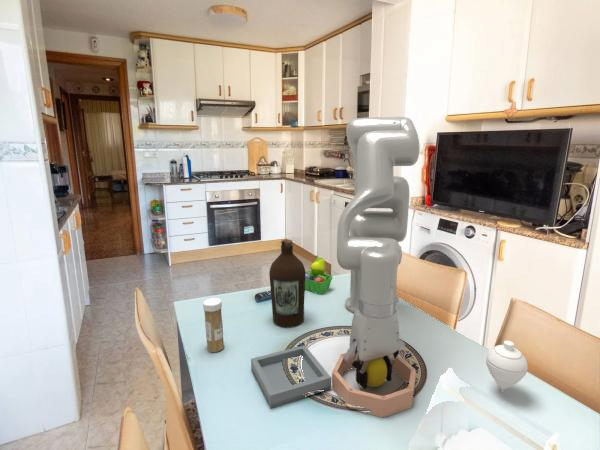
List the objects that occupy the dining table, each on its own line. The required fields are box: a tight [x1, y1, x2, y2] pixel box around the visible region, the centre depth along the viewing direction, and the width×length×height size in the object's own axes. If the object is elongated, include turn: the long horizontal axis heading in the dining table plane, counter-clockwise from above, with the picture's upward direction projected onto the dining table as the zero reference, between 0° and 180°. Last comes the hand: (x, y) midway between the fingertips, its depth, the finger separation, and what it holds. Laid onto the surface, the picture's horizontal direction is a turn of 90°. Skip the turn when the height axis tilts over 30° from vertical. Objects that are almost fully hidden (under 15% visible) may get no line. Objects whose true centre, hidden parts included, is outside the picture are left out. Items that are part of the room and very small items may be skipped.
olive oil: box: [268, 239, 306, 329], centre depth 108 cm, size 11×11×25 cm
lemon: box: [365, 357, 387, 388], centre depth 80 cm, size 6×6×8 cm
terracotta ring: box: [331, 352, 417, 418], centre depth 80 cm, size 17×17×4 cm
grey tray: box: [250, 344, 332, 409], centre depth 83 cm, size 14×14×3 cm
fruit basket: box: [305, 257, 333, 295], centre depth 132 cm, size 11×9×11 cm
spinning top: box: [485, 340, 529, 394], centre depth 77 cm, size 8×8×12 cm
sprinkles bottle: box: [202, 297, 225, 353], centre depth 95 cm, size 5×5×13 cm
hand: (373, 380), depth 80 cm, fingers closed on lemon, 5 cm apart
